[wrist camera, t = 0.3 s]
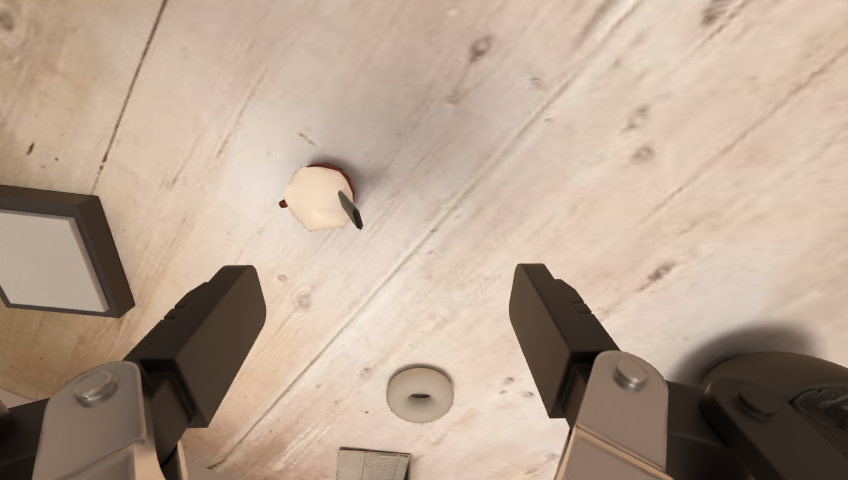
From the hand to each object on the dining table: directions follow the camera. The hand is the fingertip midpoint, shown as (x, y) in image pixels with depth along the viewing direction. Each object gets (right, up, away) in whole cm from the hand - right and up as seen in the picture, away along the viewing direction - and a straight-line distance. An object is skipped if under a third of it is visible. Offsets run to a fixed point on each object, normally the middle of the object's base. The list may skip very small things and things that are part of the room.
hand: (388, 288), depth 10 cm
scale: (-42, 0, +28) cm, 50 cm away
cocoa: (-8, +7, +25) cm, 28 cm away
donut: (+1, -20, +40) cm, 45 cm away
